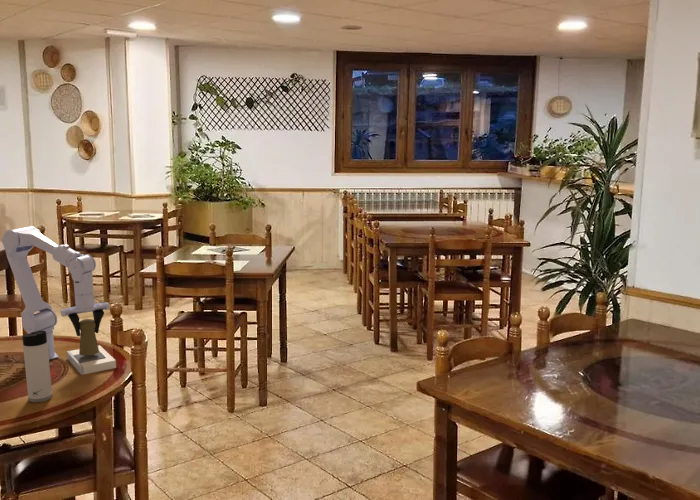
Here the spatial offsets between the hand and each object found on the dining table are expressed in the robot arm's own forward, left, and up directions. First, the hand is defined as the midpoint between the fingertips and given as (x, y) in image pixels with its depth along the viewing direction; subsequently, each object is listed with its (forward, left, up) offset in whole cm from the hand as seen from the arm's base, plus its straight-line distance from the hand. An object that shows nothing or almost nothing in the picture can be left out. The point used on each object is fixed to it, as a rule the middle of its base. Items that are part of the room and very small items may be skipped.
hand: (87, 333), depth 222 cm
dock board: (-1, +1, -10) cm, 11 cm away
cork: (0, 0, -6) cm, 6 cm away
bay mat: (0, 0, -8) cm, 8 cm away
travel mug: (+20, -19, -11) cm, 29 cm away
